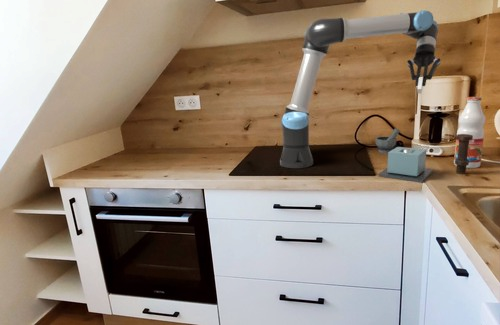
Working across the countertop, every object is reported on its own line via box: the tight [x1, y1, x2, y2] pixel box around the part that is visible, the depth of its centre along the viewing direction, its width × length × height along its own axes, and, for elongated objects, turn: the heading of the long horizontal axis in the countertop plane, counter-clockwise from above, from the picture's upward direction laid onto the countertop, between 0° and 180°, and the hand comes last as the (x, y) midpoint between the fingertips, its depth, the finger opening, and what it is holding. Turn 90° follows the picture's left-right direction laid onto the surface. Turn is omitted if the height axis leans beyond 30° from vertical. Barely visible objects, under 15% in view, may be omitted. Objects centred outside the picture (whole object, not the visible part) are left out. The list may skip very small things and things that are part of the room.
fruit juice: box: [453, 96, 486, 169], centre depth 140 cm, size 9×9×28 cm
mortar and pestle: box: [374, 127, 401, 154], centre depth 172 cm, size 11×9×12 cm
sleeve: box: [386, 146, 427, 176], centre depth 136 cm, size 11×11×8 cm
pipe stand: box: [377, 149, 434, 184], centre depth 136 cm, size 16×16×10 cm
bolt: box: [454, 134, 473, 175], centre depth 133 cm, size 6×5×15 cm
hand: (419, 91), depth 142 cm, fingers closed
